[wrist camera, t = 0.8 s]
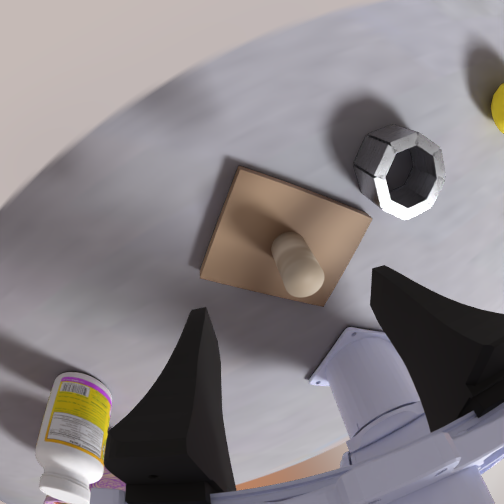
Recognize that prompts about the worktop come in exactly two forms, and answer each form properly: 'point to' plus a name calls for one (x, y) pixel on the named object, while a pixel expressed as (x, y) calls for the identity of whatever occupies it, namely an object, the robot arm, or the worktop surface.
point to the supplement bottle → (73, 437)
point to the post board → (268, 220)
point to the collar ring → (419, 180)
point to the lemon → (498, 108)
